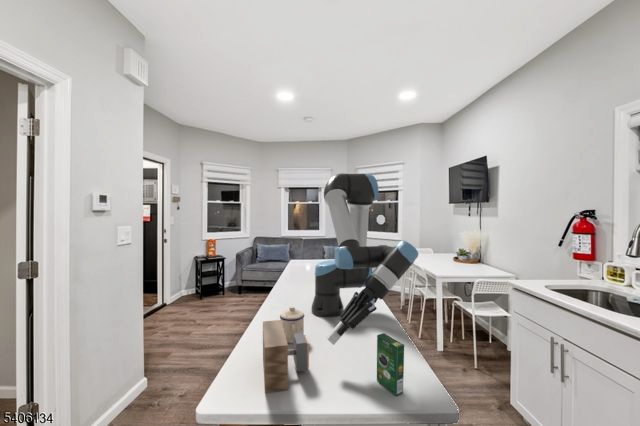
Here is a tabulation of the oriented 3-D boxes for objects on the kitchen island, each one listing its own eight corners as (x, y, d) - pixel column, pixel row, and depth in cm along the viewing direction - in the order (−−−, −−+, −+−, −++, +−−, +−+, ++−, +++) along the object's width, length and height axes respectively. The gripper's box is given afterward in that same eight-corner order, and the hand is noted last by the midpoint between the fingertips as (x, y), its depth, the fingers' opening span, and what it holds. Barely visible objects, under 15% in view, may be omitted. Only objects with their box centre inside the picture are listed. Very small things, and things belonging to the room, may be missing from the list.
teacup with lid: (279, 333, 111) (279, 303, 111) (302, 332, 112) (302, 302, 112) (280, 348, 99) (280, 315, 99) (306, 346, 101) (306, 313, 101)
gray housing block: (305, 357, 90) (304, 332, 90) (309, 369, 83) (309, 342, 83) (277, 361, 88) (277, 335, 88) (279, 373, 81) (279, 345, 81)
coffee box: (405, 393, 75) (405, 343, 75) (396, 397, 73) (396, 346, 73) (384, 378, 82) (383, 332, 82) (376, 380, 80) (376, 334, 80)
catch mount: (281, 356, 94) (281, 319, 94) (287, 390, 76) (287, 345, 76) (262, 358, 93) (262, 321, 92) (265, 393, 75) (264, 347, 75)
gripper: (398, 295, 85) (345, 359, 81) (379, 285, 98) (332, 339, 94) (381, 279, 84) (327, 343, 80) (364, 270, 97) (316, 325, 93)
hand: (330, 341), depth 87 cm, fingers closed
